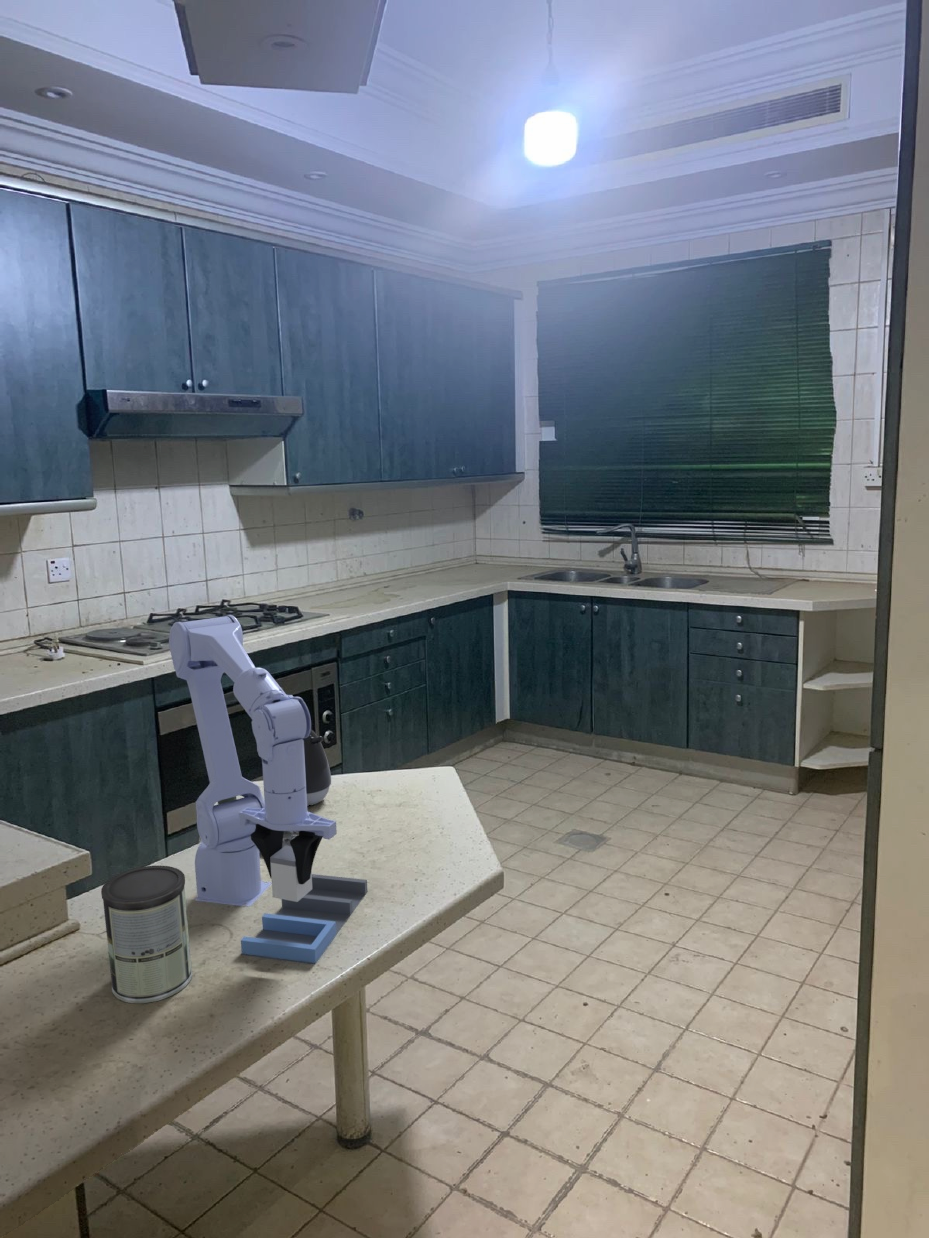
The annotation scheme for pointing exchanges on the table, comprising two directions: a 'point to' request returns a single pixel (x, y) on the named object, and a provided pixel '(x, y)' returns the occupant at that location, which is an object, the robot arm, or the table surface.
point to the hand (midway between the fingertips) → (290, 878)
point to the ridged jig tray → (307, 921)
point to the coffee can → (147, 933)
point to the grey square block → (287, 876)
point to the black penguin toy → (316, 769)
